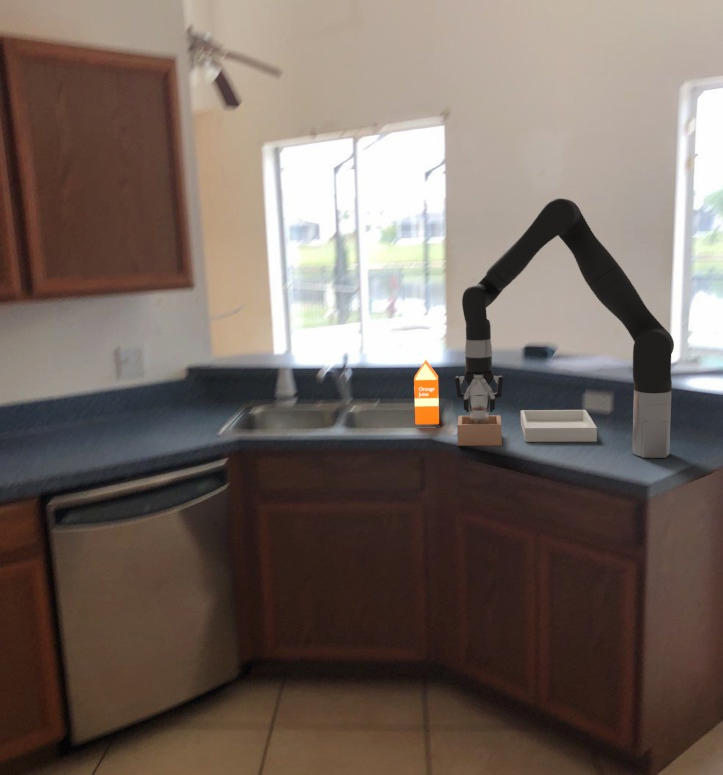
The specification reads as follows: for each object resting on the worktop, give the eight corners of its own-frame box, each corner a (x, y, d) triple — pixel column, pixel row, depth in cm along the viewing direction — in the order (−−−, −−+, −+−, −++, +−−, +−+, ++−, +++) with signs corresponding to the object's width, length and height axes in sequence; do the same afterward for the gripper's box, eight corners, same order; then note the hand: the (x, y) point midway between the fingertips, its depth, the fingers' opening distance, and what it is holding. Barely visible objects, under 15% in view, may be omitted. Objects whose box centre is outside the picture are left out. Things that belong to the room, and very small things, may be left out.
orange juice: (439, 418, 257) (437, 358, 253) (439, 424, 248) (437, 362, 244) (415, 418, 258) (414, 359, 254) (414, 424, 249) (413, 363, 245)
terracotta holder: (501, 445, 219) (501, 424, 218) (457, 445, 221) (457, 425, 220) (500, 434, 231) (500, 415, 230) (458, 434, 233) (458, 415, 232)
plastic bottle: (464, 439, 228) (462, 372, 224) (484, 436, 230) (483, 370, 226) (474, 443, 222) (473, 375, 218) (495, 440, 224) (494, 373, 221)
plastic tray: (596, 441, 219) (596, 427, 218) (525, 441, 222) (525, 428, 221) (585, 422, 242) (585, 409, 242) (520, 422, 245) (520, 410, 245)
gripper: (453, 357, 219) (454, 414, 222) (504, 356, 217) (504, 414, 220) (453, 353, 226) (455, 409, 229) (503, 352, 224) (504, 408, 227)
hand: (479, 411), depth 224 cm, fingers closed on plastic bottle, 6 cm apart
